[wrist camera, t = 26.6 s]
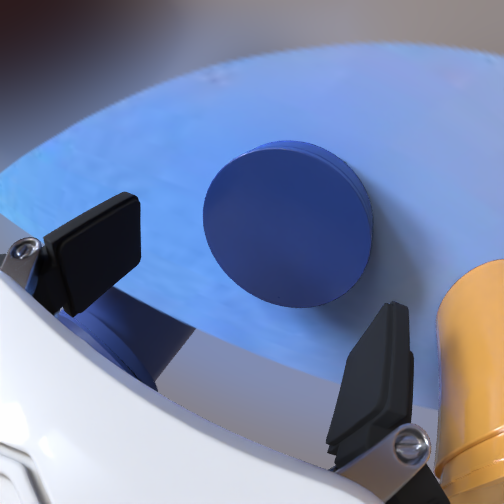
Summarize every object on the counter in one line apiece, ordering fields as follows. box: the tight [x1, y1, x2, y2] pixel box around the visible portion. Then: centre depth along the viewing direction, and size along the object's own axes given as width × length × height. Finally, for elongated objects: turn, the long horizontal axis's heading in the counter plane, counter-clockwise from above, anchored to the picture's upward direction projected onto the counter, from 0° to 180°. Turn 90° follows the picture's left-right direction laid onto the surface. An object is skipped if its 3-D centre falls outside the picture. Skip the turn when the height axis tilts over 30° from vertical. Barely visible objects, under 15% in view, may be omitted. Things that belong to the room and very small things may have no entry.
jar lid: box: [203, 141, 373, 308], centre depth 12 cm, size 7×7×2 cm
